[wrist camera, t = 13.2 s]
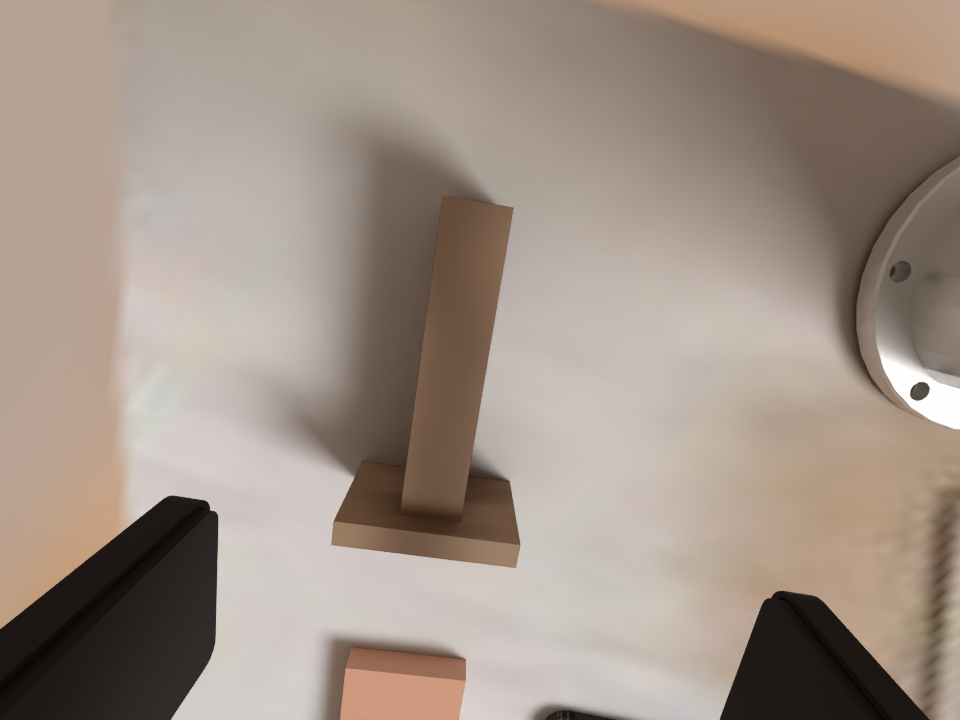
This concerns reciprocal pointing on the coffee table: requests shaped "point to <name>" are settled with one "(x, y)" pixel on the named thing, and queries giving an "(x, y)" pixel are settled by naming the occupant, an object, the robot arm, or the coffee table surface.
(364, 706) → the tile
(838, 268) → the coffee table surface
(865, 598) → the coffee table surface
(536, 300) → the coffee table surface
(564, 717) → the phone
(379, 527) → the post on base stand
